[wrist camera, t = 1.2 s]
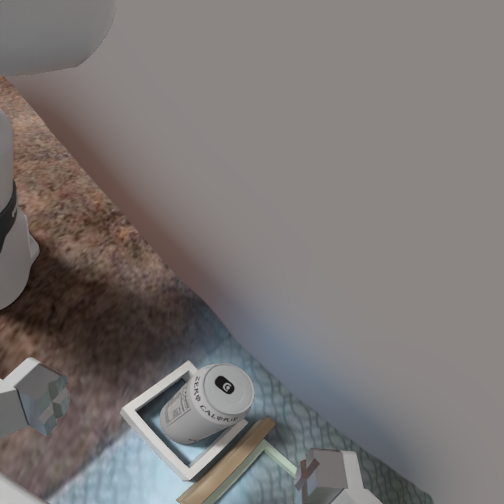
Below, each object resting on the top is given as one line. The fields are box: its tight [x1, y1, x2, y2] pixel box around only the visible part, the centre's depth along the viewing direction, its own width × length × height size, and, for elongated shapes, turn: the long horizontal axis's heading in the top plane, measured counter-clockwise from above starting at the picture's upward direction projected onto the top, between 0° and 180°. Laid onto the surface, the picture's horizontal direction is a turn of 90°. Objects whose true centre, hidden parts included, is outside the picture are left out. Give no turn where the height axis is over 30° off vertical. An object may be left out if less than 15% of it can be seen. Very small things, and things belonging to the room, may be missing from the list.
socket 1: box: [120, 360, 248, 481], centre depth 33 cm, size 11×11×3 cm
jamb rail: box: [176, 416, 276, 504], centre depth 32 cm, size 2×16×4 cm, turn 140°
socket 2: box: [201, 439, 297, 504], centre depth 31 cm, size 13×13×1 cm
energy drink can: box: [160, 363, 255, 444], centre depth 30 cm, size 6×6×15 cm
